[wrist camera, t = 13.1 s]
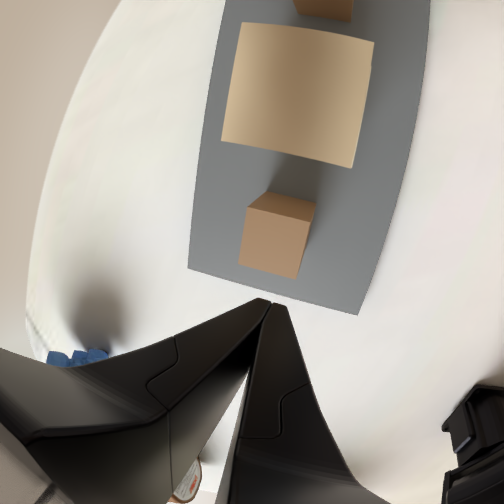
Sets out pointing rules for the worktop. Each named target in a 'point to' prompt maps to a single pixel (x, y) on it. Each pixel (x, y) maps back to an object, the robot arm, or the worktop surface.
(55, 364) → the grapes
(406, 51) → the board
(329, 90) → the maple block
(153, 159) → the worktop surface
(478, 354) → the worktop surface
